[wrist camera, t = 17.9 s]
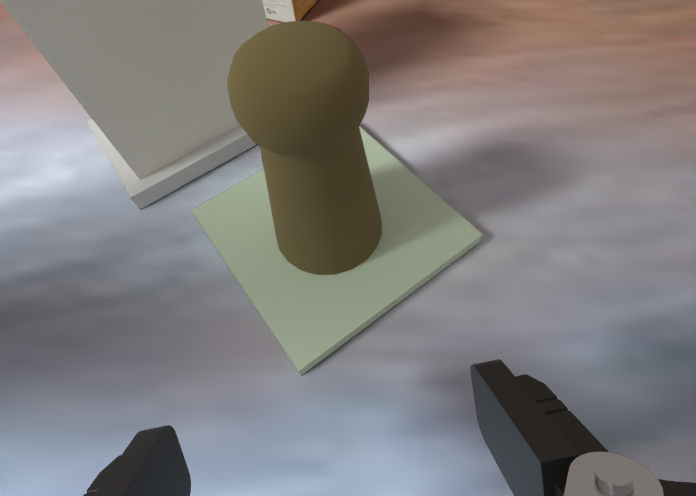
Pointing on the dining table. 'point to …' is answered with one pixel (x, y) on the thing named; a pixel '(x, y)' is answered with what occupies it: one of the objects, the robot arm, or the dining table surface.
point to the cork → (310, 141)
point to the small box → (287, 9)
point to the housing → (149, 80)
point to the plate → (347, 287)
